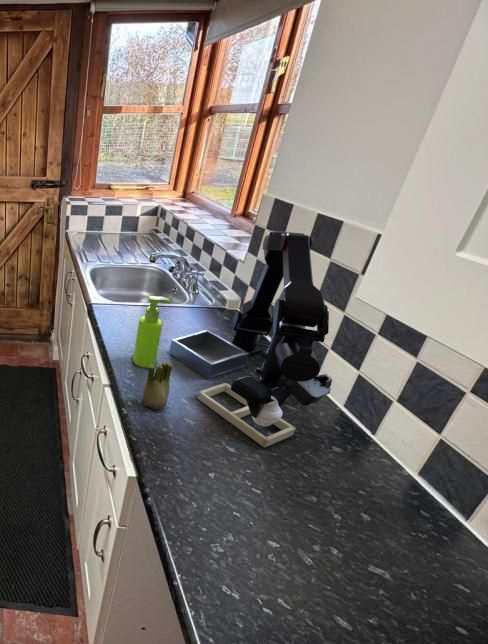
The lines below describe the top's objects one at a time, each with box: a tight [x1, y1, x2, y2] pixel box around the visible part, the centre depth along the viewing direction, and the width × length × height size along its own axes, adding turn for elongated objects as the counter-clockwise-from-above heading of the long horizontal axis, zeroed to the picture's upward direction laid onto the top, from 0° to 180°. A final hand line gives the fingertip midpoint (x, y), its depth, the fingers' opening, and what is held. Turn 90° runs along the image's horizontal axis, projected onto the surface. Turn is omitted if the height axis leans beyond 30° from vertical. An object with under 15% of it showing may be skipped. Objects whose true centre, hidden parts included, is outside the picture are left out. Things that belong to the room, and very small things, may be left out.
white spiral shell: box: [251, 396, 283, 428], centre depth 88 cm, size 6×6×7 cm
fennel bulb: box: [142, 361, 174, 411], centre depth 95 cm, size 6×5×12 cm
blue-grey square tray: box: [168, 329, 249, 380], centre depth 113 cm, size 14×14×5 cm
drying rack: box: [196, 382, 297, 448], centre depth 93 cm, size 9×17×2 cm, turn 22°
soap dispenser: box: [132, 295, 172, 369], centre depth 110 cm, size 6×7×20 cm
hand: (264, 412), depth 88 cm, fingers closed on white spiral shell, 6 cm apart
